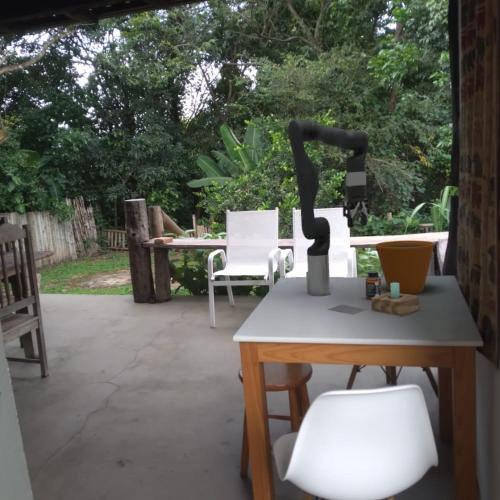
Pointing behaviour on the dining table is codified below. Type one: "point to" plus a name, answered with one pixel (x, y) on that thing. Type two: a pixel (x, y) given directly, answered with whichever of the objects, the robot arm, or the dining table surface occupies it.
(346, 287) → the dining table surface
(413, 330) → the dining table surface
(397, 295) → the peg
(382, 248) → the flower pot
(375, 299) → the hole block
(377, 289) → the supplement bottle
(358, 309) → the mat
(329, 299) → the dining table surface
